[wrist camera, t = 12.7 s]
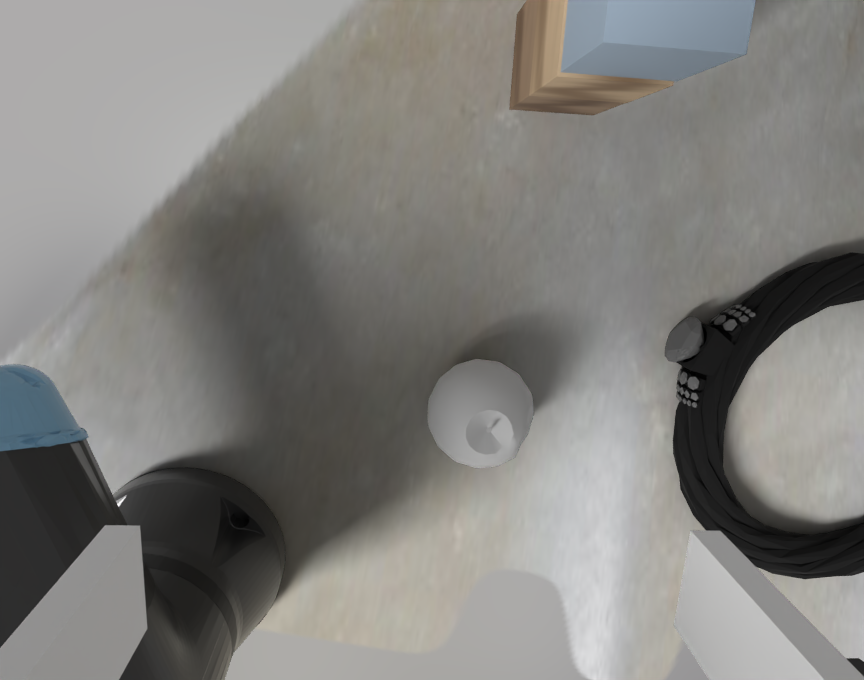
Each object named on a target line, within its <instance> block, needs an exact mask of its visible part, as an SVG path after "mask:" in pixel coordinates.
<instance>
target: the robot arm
mask: <svg viewBox="0 0 864 680" xmlns="http://www.w3.org/2000/svg"><path fill="white" fill-rule="evenodd" d="M86 438H88V434H87V432H86V431H85V429H83V428H80V427H79V426H78V424H77V422H76V421H75V419H74V417H73V416H72V414H71V412H70V411H69V409H68V407H67V405H66V404H65V402H64V400H63V399H62V397H61V395H60V393H59V391H58V390H57V388H56V386H55V384H54V383H53V382H52V380H51V379H50V378H49V377H48V376H47V375H45V374H44V373H43V372H41V371H39V370H37V369H35V368H32V367H29V366H25V365H1V366H0V680H225V677H226V674H227V671H228V667H229V665H230V661H231V658H232V656H233V653H234V652H235V651H236V649H237V648H238V647H239V646H240V645H241V644H242V643H243V642H244V640H245V639H246V638H247V637H248V635H249V634H250V633H251V632H252V631H253V630H254V628H255V627H256V626H257V625H258V624H259V623H260V622H261V621H262V620H263V618H264V617H265V616H266V614H267V613H268V611H269V610H270V608H271V606H272V604H273V602H274V600H275V598H276V595H277V593H278V589H279V586H280V583H281V579H282V575H283V571H284V566H285V545H284V539H283V535H282V532H281V529H280V527H279V524H278V522H277V520H276V518H275V517H274V515H273V514H272V512H271V511H270V509H269V508H268V507H267V505H266V504H265V503H264V502H263V501H262V500H261V499H260V498H259V497H258V496H257V495H256V494H255V493H254V492H252V491H251V490H250V489H248V488H247V487H245V486H244V485H242V484H241V483H239V482H237V481H235V480H233V479H231V478H229V477H227V476H224V475H221V474H218V473H215V472H211V471H207V470H202V469H194V468H172V469H165V470H160V471H155V472H152V473H149V474H146V475H143V476H141V477H139V478H137V479H135V480H133V481H131V482H129V483H128V484H126V485H125V486H123V487H122V488H121V489H119V490H118V491H117V492H116V493H115V494H114V495H112V493H111V491H110V489H109V487H108V484H107V482H106V480H105V478H104V476H103V474H102V472H101V470H100V468H99V465H98V463H97V461H96V459H95V457H94V455H93V453H92V451H91V449H90V446H89V444H88V442H87V440H86ZM674 627H675V629H676V630H677V632H678V633H679V635H680V636H681V638H682V639H683V641H684V642H685V644H686V645H687V647H688V648H689V650H690V651H691V653H692V654H693V656H694V657H695V659H696V660H697V662H698V663H699V665H700V666H701V668H702V669H703V671H704V672H705V674H706V675H707V677H708V679H709V680H864V662H863V661H862V660H860V659H859V658H850V659H846V658H845V657H844V656H843V655H842V654H841V653H840V652H839V651H838V650H837V649H836V648H835V647H834V646H833V645H832V644H831V643H830V642H829V641H828V640H827V639H826V638H825V637H824V636H823V635H822V634H821V633H820V632H819V631H818V630H817V629H816V628H815V627H814V626H813V625H812V623H811V622H810V621H809V620H808V619H807V618H806V617H805V616H804V615H803V614H802V613H801V612H800V611H799V610H798V609H797V608H796V607H795V606H794V605H793V604H792V603H791V602H790V601H789V600H788V599H787V598H786V597H785V596H784V595H783V594H782V593H781V592H780V591H779V590H778V589H777V588H776V587H775V586H774V585H773V584H772V583H771V582H770V581H769V580H768V579H767V578H766V577H765V576H764V575H763V574H762V573H761V572H760V571H759V570H758V569H757V568H756V567H755V566H754V565H753V564H752V563H751V562H750V560H749V559H748V558H747V557H746V556H745V555H744V554H743V553H742V552H741V551H740V550H739V549H738V548H737V547H736V546H735V545H734V544H733V543H732V542H731V541H730V540H729V539H728V538H727V537H726V536H725V535H724V534H723V533H722V532H721V531H693V530H691V531H690V537H689V542H688V548H687V554H686V559H685V565H684V571H683V576H682V582H681V587H680V593H679V599H678V604H677V610H676V616H675V621H674Z"/></svg>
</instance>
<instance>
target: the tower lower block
mask: <svg viewBox="0 0 864 680" xmlns="http://www.w3.org/2000/svg"><path fill="white" fill-rule="evenodd" d="M537 4H538V0H527V1H526V3H525V4H524V5H523V7H522V8H521V10H520V11H519V12H518V14H517V22H516V34H515V47H514V59H513V72H512V84H511V97H510V110H525V111H539V112H554V113H568V114H583V115H595V114H598V113H601V112H603V111H606V110H608V109H611V108H614V107H616V106H619V105H622V104H624V103H620V102H606V101H593V100H579V99H565V98H552V97H538V96H529V93H530V82H531V71H532V60H533V48H534V37H535V26H536V15H537Z"/></svg>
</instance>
